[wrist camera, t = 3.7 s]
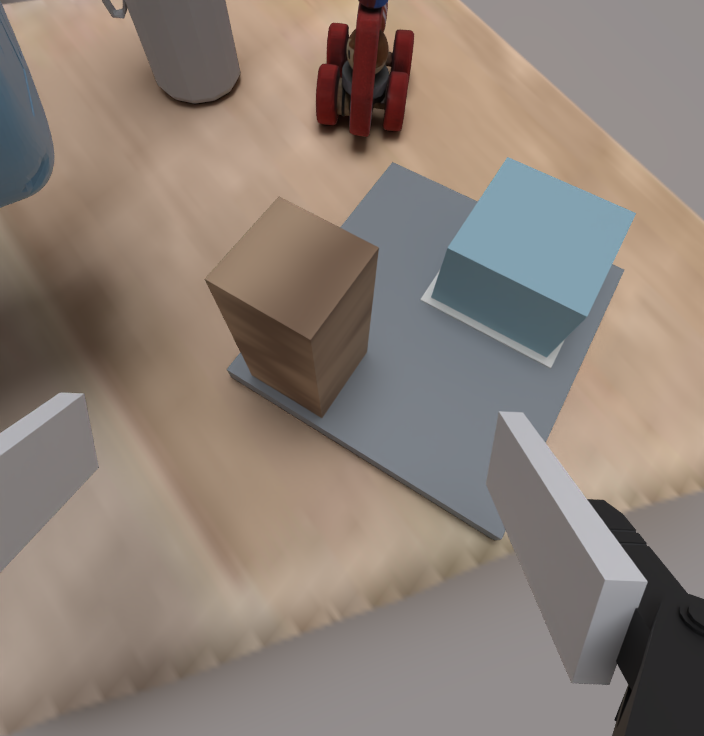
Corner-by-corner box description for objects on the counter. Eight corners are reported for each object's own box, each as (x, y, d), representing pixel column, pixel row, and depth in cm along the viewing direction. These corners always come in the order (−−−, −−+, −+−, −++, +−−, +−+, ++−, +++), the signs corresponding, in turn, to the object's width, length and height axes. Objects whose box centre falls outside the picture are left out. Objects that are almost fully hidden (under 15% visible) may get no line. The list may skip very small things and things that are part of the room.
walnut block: (251, 375, 27) (204, 278, 18) (299, 313, 29) (278, 196, 19) (322, 418, 26) (310, 340, 17) (367, 351, 28) (378, 247, 18)
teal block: (430, 297, 29) (447, 247, 25) (483, 215, 32) (507, 157, 27) (546, 357, 28) (587, 316, 23) (591, 265, 30) (636, 213, 26)
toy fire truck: (313, 150, 36) (301, 2, 26) (334, 52, 41) (331, -104, 31) (399, 160, 36) (420, 13, 26) (410, 59, 41) (431, -96, 31)
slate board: (231, 376, 28) (226, 368, 27) (391, 174, 35) (392, 161, 34) (494, 540, 25) (501, 539, 23) (614, 280, 31) (625, 268, 30)
